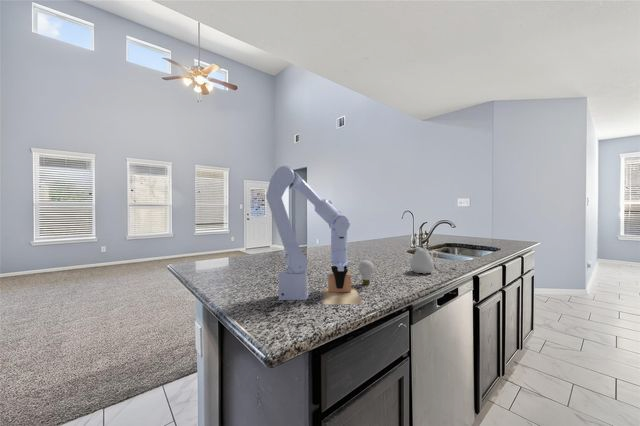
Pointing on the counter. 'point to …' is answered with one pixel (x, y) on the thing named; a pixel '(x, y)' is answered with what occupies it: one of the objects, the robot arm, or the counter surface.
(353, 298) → the mat
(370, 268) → the light bulb
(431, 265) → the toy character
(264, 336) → the counter surface
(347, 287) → the tile
